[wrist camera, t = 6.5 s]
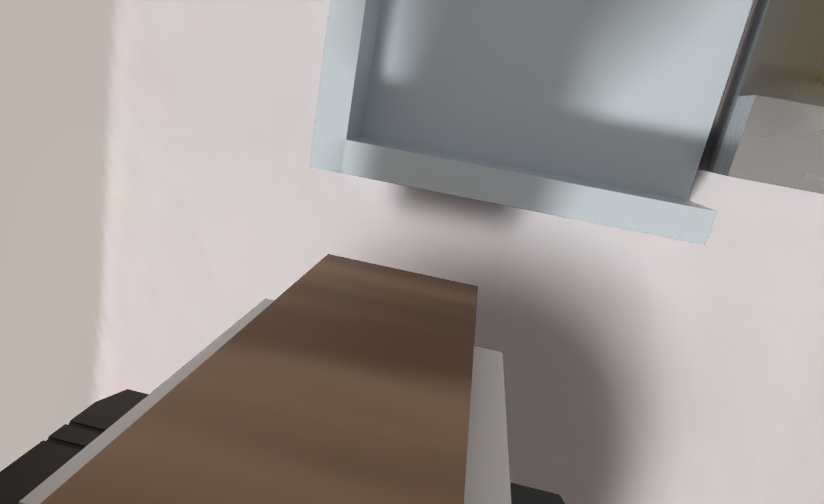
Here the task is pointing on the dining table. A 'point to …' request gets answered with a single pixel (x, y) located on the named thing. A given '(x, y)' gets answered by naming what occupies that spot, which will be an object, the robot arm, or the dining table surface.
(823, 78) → the chip
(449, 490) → the brown wooden block
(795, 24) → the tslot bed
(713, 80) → the tray
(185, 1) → the dining table surface
